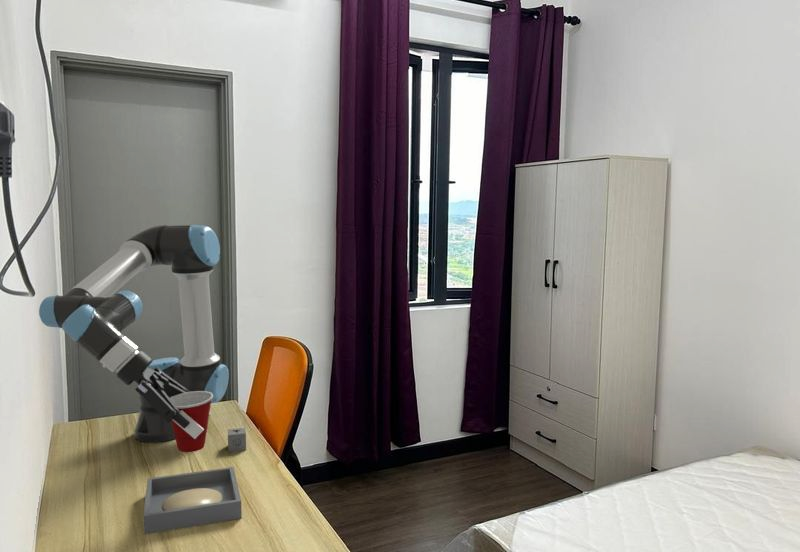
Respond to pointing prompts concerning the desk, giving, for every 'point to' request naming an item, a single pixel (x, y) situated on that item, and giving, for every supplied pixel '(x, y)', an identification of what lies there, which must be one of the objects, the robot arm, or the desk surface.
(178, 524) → the grey square tray
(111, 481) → the desk surface
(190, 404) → the plastic cup
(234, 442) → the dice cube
